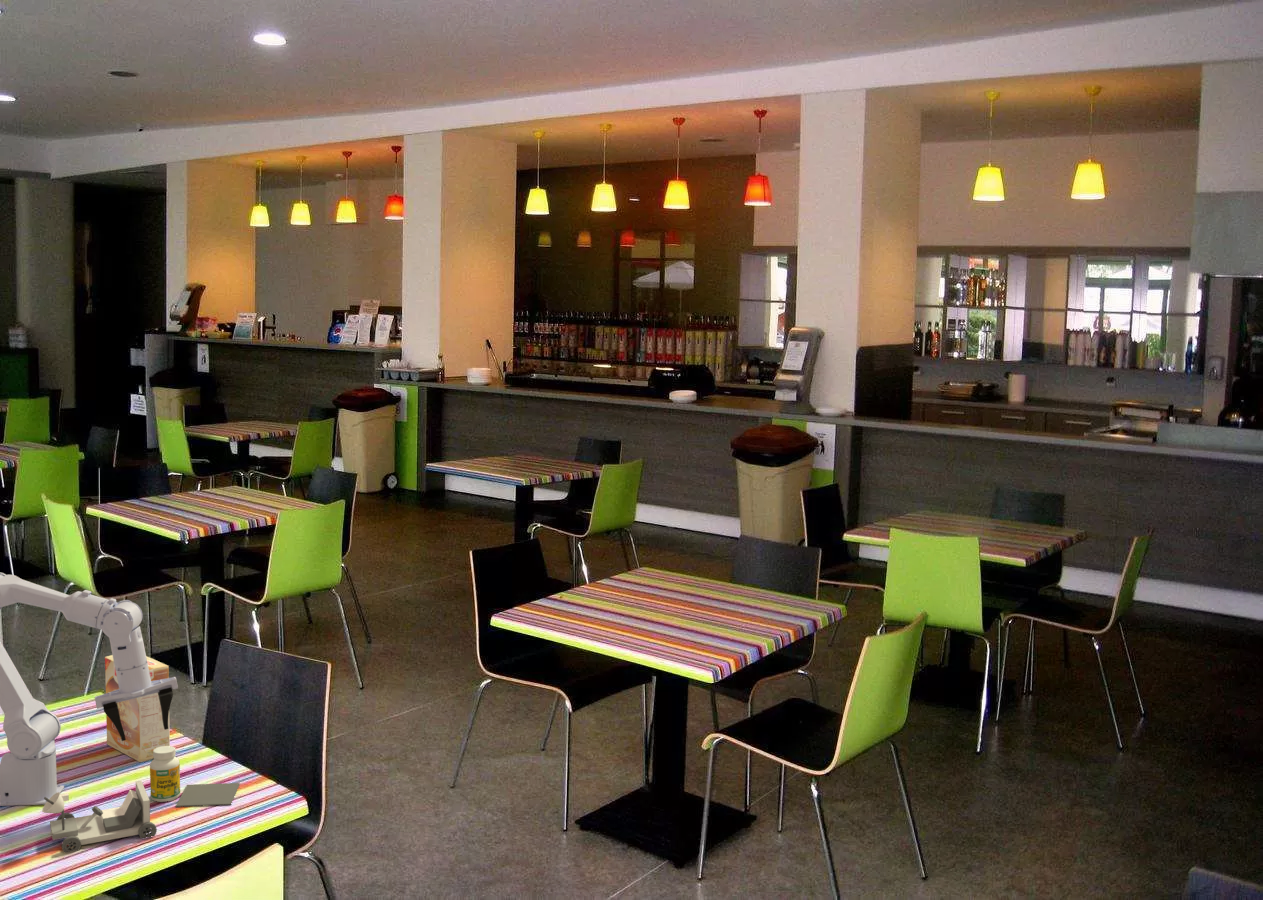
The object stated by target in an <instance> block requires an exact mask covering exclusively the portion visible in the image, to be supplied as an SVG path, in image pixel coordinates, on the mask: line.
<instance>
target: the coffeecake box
mask: <svg viewBox="0 0 1263 900" xmlns="http://www.w3.org/2000/svg"><path fill="white" fill-rule="evenodd" d="M146 658H147V663H148V668H149V673H150V678H151V681H155V680H161V679H167V678H170V677H169V673H170V672H169V666H170V665H167V664H165V663H164V662H160V661H158V660H156V659H154V658H152V657H150V656H147V655H146ZM104 666H105V667H104V669H105V671H104V673H105V675H104V678H105V694H106V693H109V692H112V691H115V690H118V689H119V685H118V680H117V675H116V670H115V665H114V660H113V655H112V654H111V655H106V656H105V657H104ZM117 705H118V710H119V715H120V720H121V724H122V727H123V730H124V734H125V739H126V740H124V741H122V740H121V737H120V734H119V732H118V730H117V728H116V727H115V725H114V724H113V722H112V721H111V720H110V718H109V717H108V716H107V715H106V714H105V715H106V716H105V717H106V719H105V720H106V745H107V746H109V747H111V748H113V749H115V750H117V751H119V752H120V753H122V754H124V755H126V756H128V757H130V758H132V759H133V760H135V761H136V762H139V763H143V762H148V761H151V760H154V757H153V750H154V749H156V748H158V747H161V746H171V743H170V742H171V739H170V737H171V736H170V734H171V733H170V731H171V730H170V727H171V726H170V714H169V715H168V729H166V730H165V729H164V726H163V720H162V711H161V705H160V701H159V696H158V693H154V694H150V695H146V696H142V697H138V698H134V699H130V700H126V701H122V702H118V703H117Z"/></svg>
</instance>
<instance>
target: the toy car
mask: <svg viewBox="0 0 1263 900" xmlns="http://www.w3.org/2000/svg"><path fill="white" fill-rule="evenodd" d="M69 796H70V795H69V793H68V792H67V793H59V792H57V793H55V794H54V795H53V796H52V797H51V798H50V799H48V798H46V797H44V799H45V800H46V801H47V802H46V804H43V805H44V806H43V807H42V810H41V812H42V813H45V814H59V815H58V817H57V819H55V820H51V821H49V827H50V832H51V838H52V841H54V840H61V839H64V840H63V841H62V842H61V850H62V852H64V853H65V854H67V853H71V852H72V853H73V852H77V851H79V850H80V848H81V846H83V845H89V844H94V843H95V844H96V843H101V842H104V841H105V842H106V841H110V840H115V839H121V838H122V839H123V838H126V837H132V836H133V837H134V836H138V835H139V838H140V839H142V838H144V839H147V838H146V837H149V838H152V837H151V836H154V837H155V836H156V835H157V831H158V830H157V826H156V824H155V823H154V822H151V814H150V813H151V811H150V810H151V809H150V808H151V807H150V805H151V804H150V803H151V802H150V801H151V800H150V798H149V796H148V794H147V790H146V789H145V786H144V784H143V781H142V780H138V781H137V780H136V781H135V790H133V789H129V790H128V793H127V794H126V797H125V798H124V801H123V802H122V805H121V806H119V807H113V808H106V809H100V808H99V807H98V806H93V807H92V808H91V811H92V812H93V813H92V814H90V815H83V816H79V817H75V816H74V814H73V813H70V812H65V807H66V806H65V802H66V801H67V802H69V800H70V799H69V798H70V797H69Z"/></svg>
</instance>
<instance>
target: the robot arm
mask: <svg viewBox="0 0 1263 900" xmlns="http://www.w3.org/2000/svg"><path fill="white" fill-rule="evenodd" d="M14 604H25V605H29V606H34V607H38V608H42V609H47V610H51V611H56V612H60V613H62V614H63V617H64V618H65V619H66V621H68V622H72V623H76V624H79V625H83V626H86V627H90V628H94V629H97V630H101V631H102V633H104V635H105V636H107V638H108V640H109V644H110V649H111V655H113V660H114V665H115V670H116V675H117V680H118V685H119V689H118V690H115V691H112V692H109V693H106V692H105V693H102V694H100V695H96V696H94V702H95V706H96V707H95V708H96V709H101V708H103V712H104V713H105V715H107V716H108V717H109V718H110V720H111V721H112V722H113V724H114V725H115V727H116V728H117V730H118V732H119V734H120V737H121V740H122V741H124V740H126V739H125V734H124V730H123V727H122V724H121V720H120V715H119V710H118V705H117V703H118V702H122V701H126V700H130V699H134V698H138V697H142V696H146V695H150V694H154V693H158V696H159V701H160V705H161V711H162V720H163V726H164V729H165V730H166V729H168V715H169V716H170V709H171V708H170V707H171V703H172V700H173V697H174V692H173V690H178V688H179V685H178V682H177V681H178V680H177V677H176V676H173V677H169V678H167V679H161V680H155V681H151V678H150V673H149V668H148V663H147V658H146V656H147V654H146V648H145V644H144V638H143V634H142V630H141V629H142V628H141V625H140V624H141V623H142V620H143V611H142V608H141V607H140V606H139V604H137V603H135V602H133V601H131V600H130V599H124V600H120V601H117V599H116V598H113V597H111V598H109V599H108V598H104V597H102V596H101V597H100V596H97V595H94V594H92V591H91V590H87V589H84V590H83V591H79V590H78V591H75V592H73V593H72V594H66V593H64V592H61V591H58V590H55V589H53V588H50V587H47V586H44V585H40V584H38V583H37V584H36V583H34V582H31V581H28V580H25V579H22V578H20V577H19V576H17V575H14V574H6V573H4V572H0V611H1V610H2V609H3V607H7V606H10V605H14ZM0 708H1V710H2V712H3V714H4V716H3V717H4V718H3V723H2V724H3V725H2V730H3V731H4V733H5V736H6V744H7V745H6V746H7V749H8V751H9V752H6V753H4V754H3V755H2V757H1V760H0V807H1V806H2V807H7V806H9V807H10V806H33V805H34V806H37V805H45V804H46V802H47V801H46V800H45V799H44V797H46V798H48V799H50V798H51V797H52V796H53V795H54V794H55V793H57V792H59V793H60V794H62V792H63V791H64V789H65V785H58V780H57V779H58V778H57V777H58V776H57V751H56V750H57V746H56V744H55V743H56V742H55V739H57V737H58V736H59V734H60V732H61V728H62V726H61V721H60V719H59V717H57V716H56V714H55V713H53V712H51V711H50V710H49V709H48V708H47V707H46V705H45V703H44V702H42V701H40V700H38V699H35V698H34V697H33V696H32V693H31V692H30V690H29V689H28V687H27V685H26V683H25V681H24V680H23V678H22V677H21V675H20V673H19V671H18V668H16V666H15V664H14V662H13V661H12V659H11V657H10V656H9V653H8V652H7V650H6V648H5V647H4V644H3V642H1V640H0Z"/></svg>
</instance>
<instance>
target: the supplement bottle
mask: <svg viewBox="0 0 1263 900" xmlns="http://www.w3.org/2000/svg"><path fill="white" fill-rule="evenodd" d="M153 757H154V759H151V760H152V761H151V760H150V761H151V762H149V777H150V778H149V779H150V780H149V781H150V783H149V784H150V799H151V800H152V801H154V802H156V801H157V802H156V803H166V802H167V801H168V802H171V801H174V800H176V799H178V798H180V797H181V773H180V772H181V769H180V768H181V766H180V759H179V758H178V757H176V747H174V746H172V745H170V746H161V747H158V748H156V749H154V750H153Z"/></svg>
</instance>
